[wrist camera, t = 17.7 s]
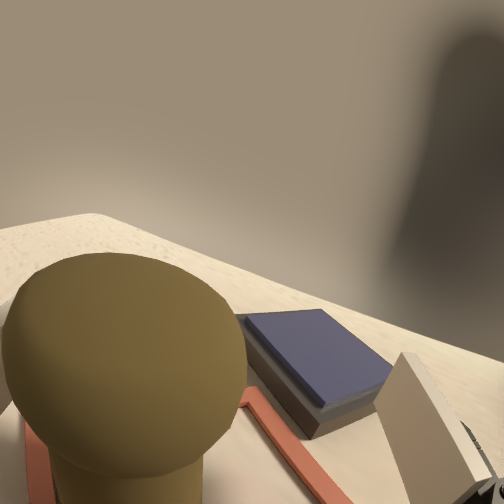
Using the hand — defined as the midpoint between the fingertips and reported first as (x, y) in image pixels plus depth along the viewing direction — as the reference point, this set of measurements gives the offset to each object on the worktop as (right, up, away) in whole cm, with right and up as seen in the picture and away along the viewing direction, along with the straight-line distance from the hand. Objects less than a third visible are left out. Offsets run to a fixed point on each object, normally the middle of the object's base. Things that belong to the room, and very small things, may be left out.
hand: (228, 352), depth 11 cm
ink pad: (+6, -5, +12) cm, 14 cm away
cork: (-4, -7, -2) cm, 9 cm away
